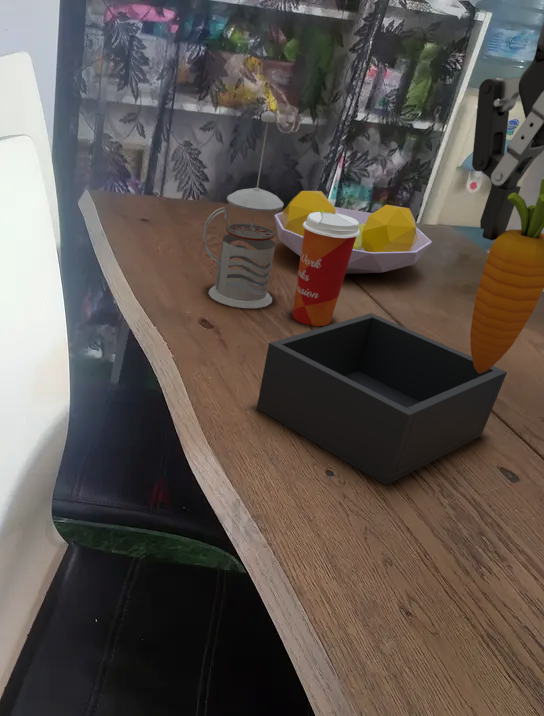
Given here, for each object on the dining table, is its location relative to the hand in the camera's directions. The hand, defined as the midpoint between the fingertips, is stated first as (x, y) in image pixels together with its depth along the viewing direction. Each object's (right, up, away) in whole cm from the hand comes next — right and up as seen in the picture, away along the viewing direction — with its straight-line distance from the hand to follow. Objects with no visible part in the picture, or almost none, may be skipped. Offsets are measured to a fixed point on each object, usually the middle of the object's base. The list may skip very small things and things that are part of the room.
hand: (525, 246), depth 55 cm
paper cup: (-6, +8, +52) cm, 53 cm away
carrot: (-1, -8, +6) cm, 11 cm away
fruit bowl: (+4, +24, +74) cm, 78 cm away
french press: (-16, +13, +57) cm, 60 cm away
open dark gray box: (-4, -10, +28) cm, 30 cm away
